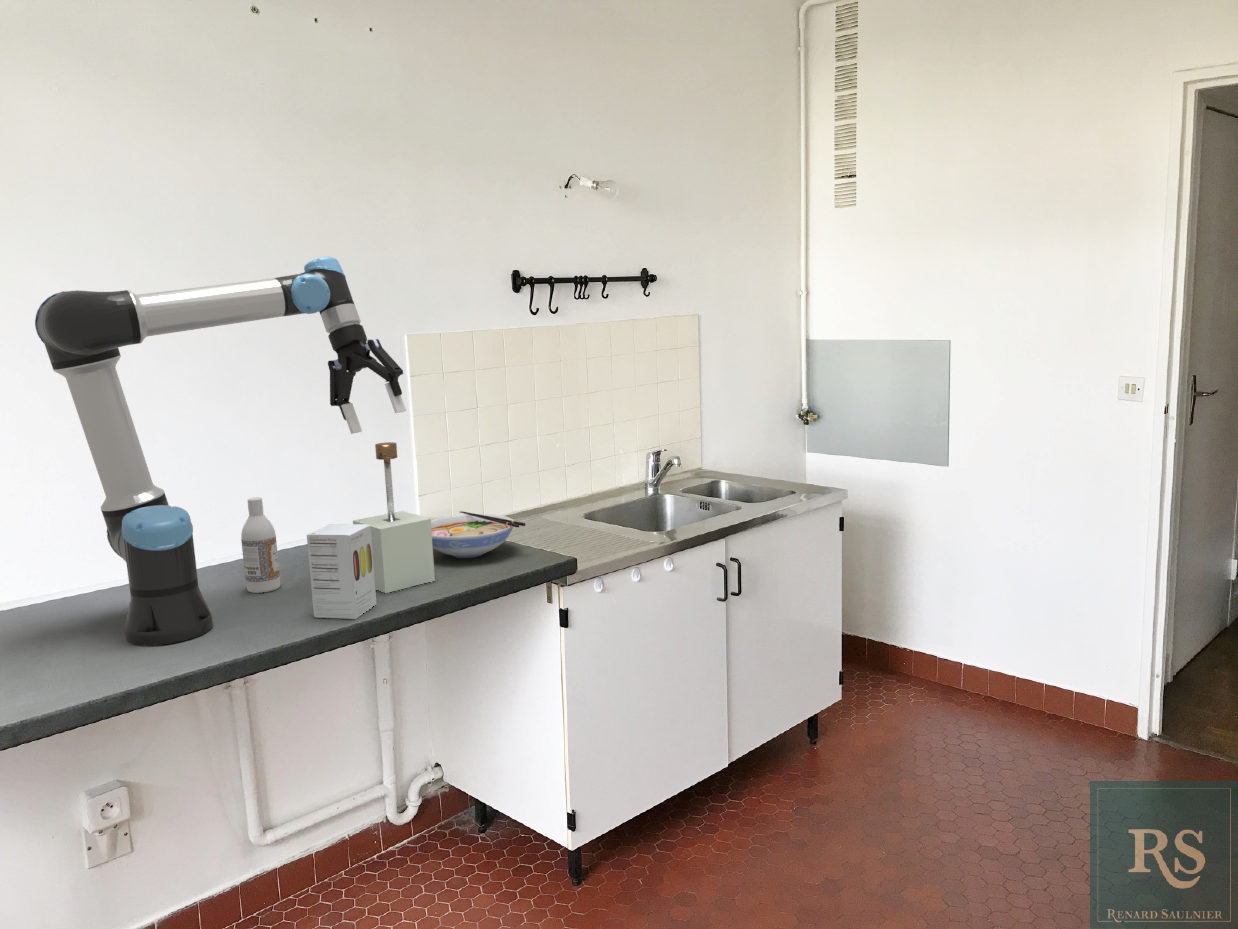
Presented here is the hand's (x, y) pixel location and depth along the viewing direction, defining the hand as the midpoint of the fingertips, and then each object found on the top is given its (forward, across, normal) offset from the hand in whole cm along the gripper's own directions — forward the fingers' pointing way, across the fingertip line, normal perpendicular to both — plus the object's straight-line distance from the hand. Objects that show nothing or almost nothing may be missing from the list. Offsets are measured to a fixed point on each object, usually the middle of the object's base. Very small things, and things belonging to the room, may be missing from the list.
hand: (378, 422), depth 207 cm
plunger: (+22, +6, +1) cm, 23 cm away
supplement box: (+35, +7, +20) cm, 41 cm away
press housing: (+34, +10, +1) cm, 35 cm away
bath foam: (+25, +33, +15) cm, 44 cm away
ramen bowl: (+34, +9, -24) cm, 43 cm away
